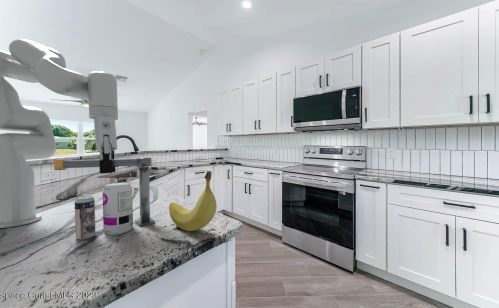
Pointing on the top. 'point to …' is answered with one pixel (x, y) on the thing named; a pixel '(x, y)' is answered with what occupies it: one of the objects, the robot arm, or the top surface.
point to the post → (144, 198)
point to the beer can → (85, 217)
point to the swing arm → (64, 163)
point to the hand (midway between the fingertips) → (106, 172)
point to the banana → (195, 210)
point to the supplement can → (117, 208)
